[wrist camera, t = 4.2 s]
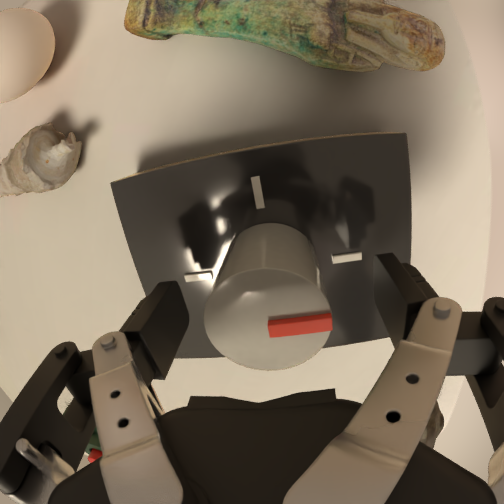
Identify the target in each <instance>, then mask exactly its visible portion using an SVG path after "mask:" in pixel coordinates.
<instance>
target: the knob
mask: <svg viewBox="0 0 504 504" xmlns="http://www.w3.org/2000/svg"><path fill="white" fill-rule="evenodd" d="M203 320H204V327H205V330H206V333H207V335H208V338H209V339H210V341H211V343H212V344H213V345H214V347H215V348H216V349H217V350H218V351H219V352H220V353H221V354H222V355H224V356H225V357H226V358H228V359H229V360H231V361H233V362H235V363H237V364H239V365H242V366H244V367H247V368H251V369H256V370H266V371H272V370H283V369H287V368H291V367H294V366H297V365H299V364H302V363H304V362H305V361H307V360H309V359H310V358H312V357H313V356H314V355H316V354H317V353H318V352H319V351H320V350H321V348H322V347H323V346H324V344H325V343H326V341H327V339H328V337H329V335H330V332H331V331H332V330H333V324H332V311H331V306H330V302H329V299H328V295H327V291H326V287H325V283H324V279H323V276H322V272H321V268H320V265H319V261H318V257H317V254H316V251H315V249H314V247H313V245H312V244H311V242H310V241H309V240H308V239H307V237H306V236H304V235H303V234H302V233H301V232H299V231H298V230H296V229H294V228H292V227H290V226H287V225H284V224H278V223H263V224H259V225H255V226H252V227H250V228H248V229H246V230H244V231H243V232H241V233H240V234H239V235H238V236H237V237H236V238H235V239H234V240H233V241H232V243H231V244H230V246H229V248H228V250H227V253H226V255H225V258H224V260H223V262H222V265H221V267H220V270H219V272H218V275H217V277H216V279H215V282H214V284H213V287H212V289H211V292H210V294H209V297H208V299H207V302H206V304H205V308H204V315H203Z"/></svg>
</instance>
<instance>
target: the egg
mask: <svg viewBox="0 0 504 504" xmlns="http://www.w3.org/2000/svg"><path fill="white" fill-rule="evenodd" d="M54 50H55V36H54V32H53V29H52V26H51V24H50V22H49V21H48V20H47V19H46V18H45V17H44V16H43V15H41V14H40V13H39V12H36V11H34V10H31V9H25V8H11V9H6V10H3V11H0V103H4V102H9V101H11V100H14V99H16V98H18V97H20V96H22V95H23V94H25V93H27V92H28V91H29V90H30V89H32V88H33V87H34V86H35V85H36V83H37V82H38V81H39V80H40V79H41V78H42V77H43V76H44V74H45V72H46V71H47V69H48V68H49V66H50V63H51V61H52V59H53V55H54Z"/></svg>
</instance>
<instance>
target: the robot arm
mask: <svg viewBox="0 0 504 504" xmlns="http://www.w3.org/2000/svg"><path fill="white" fill-rule="evenodd" d="M373 293H374V300H375V304H376V307H377V309H378V311H379V313H380V315H381V318H382V320H383V322H384V325H385V327H386V329H387V331H388V334H389V336H390V338H391V341H392V343H393V346H394V348H395V350H394V352H393V354H392V356H391V358H390V359H389V361H388V363H387V365H386V367H385V368H384V370H383V372H382V373H381V375H380V377H379V378H378V380H377V382H376V383H375V385H374V387H373V388H372V390H371V391H370V393H369V395H368V396H367V398H366V399H365V401H364V402H363V404H361V403H358V402H355V401H351V400H344V399H336V394H335V388H334V389H326V390H318V391H310V392H300V393H295V394H292V395H288V396H284V397H281V398H277V399H273V400H269V401H265V402H261V403H256V402H250V401H244V400H238V399H233V398H228V397H212V396H190V400H189V403H188V406H186V407H181V408H177V409H174V410H172V411H169V412H167V413H165V411H164V409H163V407H162V405H161V403H160V401H159V399H158V396H157V394H156V392H155V390H154V388H153V386H152V384H151V382H152V380H153V379H159V380H165V378H166V376H167V374H168V371H169V369H170V367H171V364H172V362H173V360H174V357H175V355H176V353H177V351H178V348H179V346H180V344H181V342H182V339H183V337H184V335H185V333H186V330H187V328H188V326H189V312H188V309H187V306H186V303H185V300H184V297H183V294H182V291H181V288H180V285H179V283H178V282H177V281H175V280H174V281H165V282H159V283H158V284H157V285H156V287H155V288H154V289H153V291H152V292H151V293H150V294H149V295H148V296H147V297H145V298H144V299H143V300H141V301H140V303H139V304H138V305H137V307H136V309H135V310H134V311H133V312H132V314H131V315H130V316H129V318H128V319H127V321H126V322H125V323H124V325H123V326H122V327H121V329H120V330H119V332H118V331H117V332H110V333H107V334H105V335H103V336H101V337H100V338H99V339H98V340H96V342H95V343H94V344H93V347H92V350H87V351H82V352H80V351H79V350H78V348H77V346H76V345H75V343H74V342H64V343H61V344H59V345H57V346H56V347H55V348H53V349H52V350H51V351H50V353H49V354H48V355H47V357H46V358H45V359H44V361H43V362H42V363H41V365H40V366H39V367H38V369H37V370H36V371H35V373H34V374H33V375H32V377H31V378H30V379H29V381H28V382H27V384H26V385H25V386H24V388H23V389H22V391H21V392H20V394H19V395H18V397H17V398H16V399H15V401H14V402H13V404H12V405H11V407H10V408H9V410H8V412H7V413H6V415H5V416H4V418H3V419H2V421H1V422H0V491H1V492H2V493H4V494H5V495H6V496H8V497H9V498H10V499H12V500H13V501H15V502H16V503H18V504H504V366H503V365H502V363H501V362H502V360H504V298H502V297H493V298H490V299H488V300H487V301H486V302H485V303H484V306H483V310H482V312H462V308H461V306H460V305H459V304H458V303H457V302H455V301H454V300H452V299H449V298H444V297H439V296H438V295H437V294H436V292H435V291H434V290H433V288H432V287H431V286H430V285H429V283H428V282H427V281H426V280H425V278H424V277H423V276H421V273H420V272H419V271H418V270H417V269H416V268H415V267H414V266H412V265H410V264H408V263H401V262H400V261H399V260H398V258H397V257H396V256H395V255H394V253H392V252H391V253H385V254H378V255H374V260H373ZM460 375H465V377H466V379H467V381H468V383H469V385H470V388H471V390H472V392H473V395H474V397H475V400H476V402H477V404H478V407H479V409H480V412H481V415H482V417H483V419H484V422H485V425H486V428H487V431H488V433H489V436H490V439H491V442H492V445H493V448H494V451H495V453H494V454H493V455H492V457H491V459H490V462H489V466H488V473H489V476H488V484H487V483H486V482H485V481H484V480H482V479H481V478H479V477H478V476H476V475H474V474H473V473H471V472H469V471H467V470H466V469H464V468H463V467H461V466H459V465H458V464H456V463H454V462H453V461H451V460H450V459H448V458H446V457H445V456H443V455H442V454H440V453H438V452H437V451H435V450H434V449H432V448H431V447H429V446H428V445H426V444H424V443H423V442H421V441H420V438H421V436H422V434H423V432H424V430H425V428H426V425H427V423H428V421H429V418H430V416H431V414H432V411H433V409H434V406H435V404H436V401H437V398H438V396H439V393H440V390H441V388H442V385H443V382H444V379H445V376H460ZM65 386H66V387H67V389H68V390H69V391H70V393H71V394H72V395H73V397H74V398H73V400H72V402H71V404H70V405H69V407H68V409H67V411H66V413H65V414H64V416H63V415H62V414H61V413H60V411H59V410H58V407H57V400H58V398H59V396H60V394H61V393H62V391H63V389H64V388H65ZM95 427H97V432H98V436H99V441H100V445H101V450H102V456H101V457H99V458H98V459H96V460H95V461H93V462H92V463H90V464H89V465H87V466H85V467H84V468H82V469H81V470H79V471H78V472H76V471H77V468H78V466H79V464H80V461H81V459H82V457H83V454H84V452H85V450H86V447H87V445H88V443H89V441H90V438H91V436H92V434H93V432H94V430H95Z"/></svg>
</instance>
